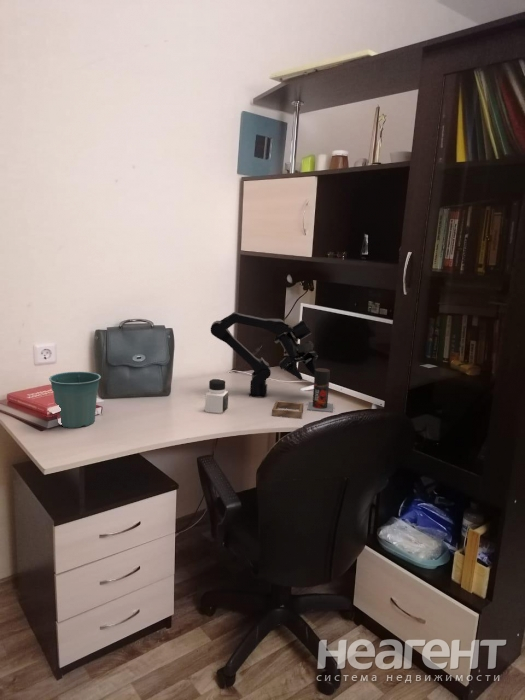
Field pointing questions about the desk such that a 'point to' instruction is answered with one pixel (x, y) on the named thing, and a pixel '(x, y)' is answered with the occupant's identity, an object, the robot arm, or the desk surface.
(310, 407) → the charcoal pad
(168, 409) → the desk surface
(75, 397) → the flower pot
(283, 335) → the robot arm
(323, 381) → the deodorant
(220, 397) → the medicine bottle
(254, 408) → the desk surface
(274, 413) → the walnut collar
